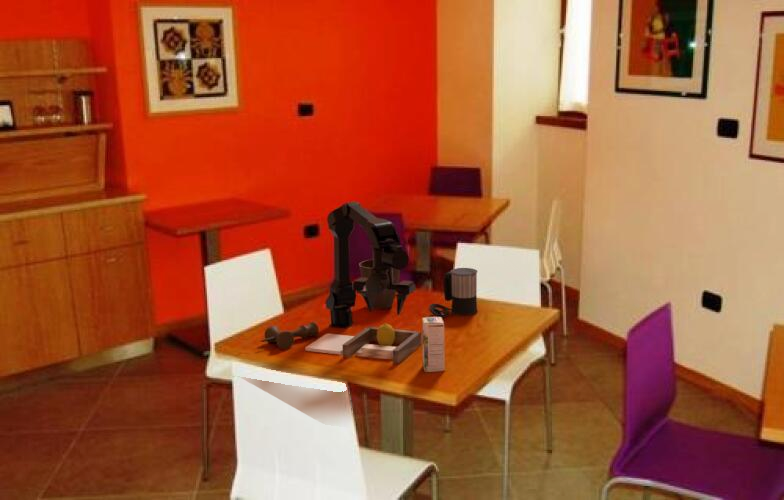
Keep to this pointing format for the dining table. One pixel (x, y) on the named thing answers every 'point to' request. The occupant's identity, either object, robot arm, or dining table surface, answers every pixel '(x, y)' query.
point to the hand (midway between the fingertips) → (384, 313)
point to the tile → (329, 344)
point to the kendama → (289, 335)
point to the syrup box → (433, 344)
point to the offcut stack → (376, 351)
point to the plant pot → (387, 295)
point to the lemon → (385, 335)
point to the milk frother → (459, 293)
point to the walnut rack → (404, 338)
